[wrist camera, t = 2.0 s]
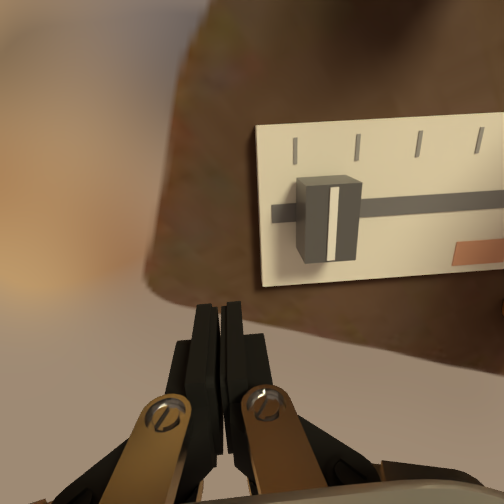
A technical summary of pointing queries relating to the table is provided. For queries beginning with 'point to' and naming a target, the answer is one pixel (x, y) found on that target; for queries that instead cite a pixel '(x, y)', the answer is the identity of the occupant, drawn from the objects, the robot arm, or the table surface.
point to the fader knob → (327, 218)
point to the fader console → (388, 194)
